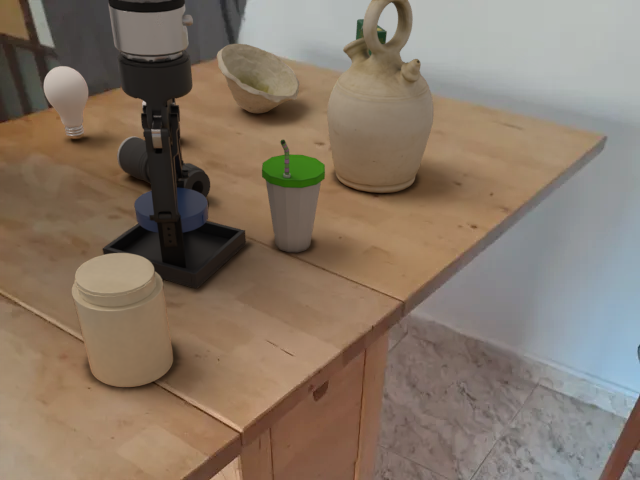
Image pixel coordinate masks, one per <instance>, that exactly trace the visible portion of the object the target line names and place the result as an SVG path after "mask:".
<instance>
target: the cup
mask: <svg viewBox="0 0 640 480" xmlns="http://www.w3.org/2000/svg"><path fill="white" fill-rule="evenodd" d="M279 143H280V146H281V147H282V149H283V154H280V155H274V156H271V157H270V158H268V159H267V160H265V161H263V162H262V167H261V177H262V178H263V180H265V184H266V190H267V191H266V192H267V198H268V204H269V211H270V217H271V222H272V230H273V235H274V243H275V246H276V247H277V249H278V250H279V251H283V252H286V253H302V252H305V251H307V250H308V249H309V248H310V247H311V242H312V236H313V230H314V223H315V220H316V219H315V218H316V213H317V208H318V201H319V195H320V189H321V183H322V181H324V180H325V177H326V165H325V164H324V163H323V162H322V161H320V160H319V159H317V158H315V157H312V156H308V155H305V154H292V153H291V154H290V149H289V147H288V144H287V142H286V140H285V139H281V140H280V142H279Z"/></svg>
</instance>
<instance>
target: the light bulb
mask: <svg viewBox="0 0 640 480" xmlns="http://www.w3.org/2000/svg"><path fill="white" fill-rule="evenodd" d="M43 92H44V95H45V97H46V99H47V101H48V103H49V104H50V106H52V107H53V109H54V110H55V111H56V113H57V114H58V116H59V118H60V120H61V123H62V125H63V126H64V132H65V135H66V137H67V138H69V139H72V140H76V141H77V140H79V139H81V138H83V137H84V135H85V128H84V125H83V123H84V112H85V108H86V105H87V102H88V100H89V87H88V84H87V82H86V80H85V78H84V77H83V75H82V74H81V73H80V72H79V71H78V70H76V69H74V68H72V67H70V66H65V65H59V66H55V67H53V68H51V69H50V70H49V71H48V72H47V73H46V76H45V77H44V80H43Z"/></svg>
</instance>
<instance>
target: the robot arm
mask: <svg viewBox="0 0 640 480" xmlns="http://www.w3.org/2000/svg"><path fill="white" fill-rule="evenodd" d="M107 2H108V11H109V12H108V13H109V17H110V24H111V31H112V37H113V43H114V47H115V49H116V50H118V52H119V53H118V55H117V57H116V61H117V66H118V74H119V80H120V87H121V89H122V92H124V94H125V95H127V96H128V97H131V98H133V99H139V100H141V101H142V102H143V101H144V102H146V105H143V109H142V112H140V118H141V119H140V121H141V122H140V123H141V128H142V129H143V132H142V135H143V137H144V140H145V142H146V152H147V156H148V165H149V174H150V183H151V184H150V183H149V184H150V191H151V192H152V201H153V210H154V215H149V217H150V221H155V222H157V226H158V233H159V241H160V248H161V255H162V262H164V263H167V264H171V265H174V266H178V267H182V268H186V260H185V251H184V242H183V233H182V223H181V215H180V213H179V212H178V199H177V188H185V187H184V181H179V179H189V172H188V170H182V168H183V165H184V163H185V162H184V160H183V153H182V145H181V126H180V125H181V124H180V123H181V110H180V105H179V104H177V103H176V99H177V100H178V99H180V98H182V97H185V96H187V95H188V94H190V93H191V91H192V90H193V74H192V73H193V72H192V64H191V63H192V62H191V61H192V60H191V55H190V53H188V51H187V50H186V49H187V48H188V46H189V33H188V28H187V27H190V26H192V25H193V24H194V19H193V16H192V15H191V14H185V12H186V0H108V1H107Z"/></svg>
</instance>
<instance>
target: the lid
mask: <svg viewBox="0 0 640 480" xmlns="http://www.w3.org/2000/svg"><path fill="white" fill-rule="evenodd" d="M177 199H178V212H179V213H180V215H181V223H182V233H184V232H188V231H192V230H194V229H197V228H199V227H201V226H202V225H204V224H205V223H206V221H209V220H208V219H209V206H208V199H207V197H206V198H205V196H204V195H202V194H201V193H199V192H197V191H194V190H191V189H186V188H177ZM133 205H134V212H135V219H136V222H137V224H139V225H140V226H141V227H143V228H145V229H147V230H149V231H152V232H157V233H158V226H157V222H155V221H150V217H149V215H154V210H153V201H152V192H151V190H149V191H147V192H144V193H142V194H141V195H139V196H138V197H136V199H135V201H134V204H133Z"/></svg>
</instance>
